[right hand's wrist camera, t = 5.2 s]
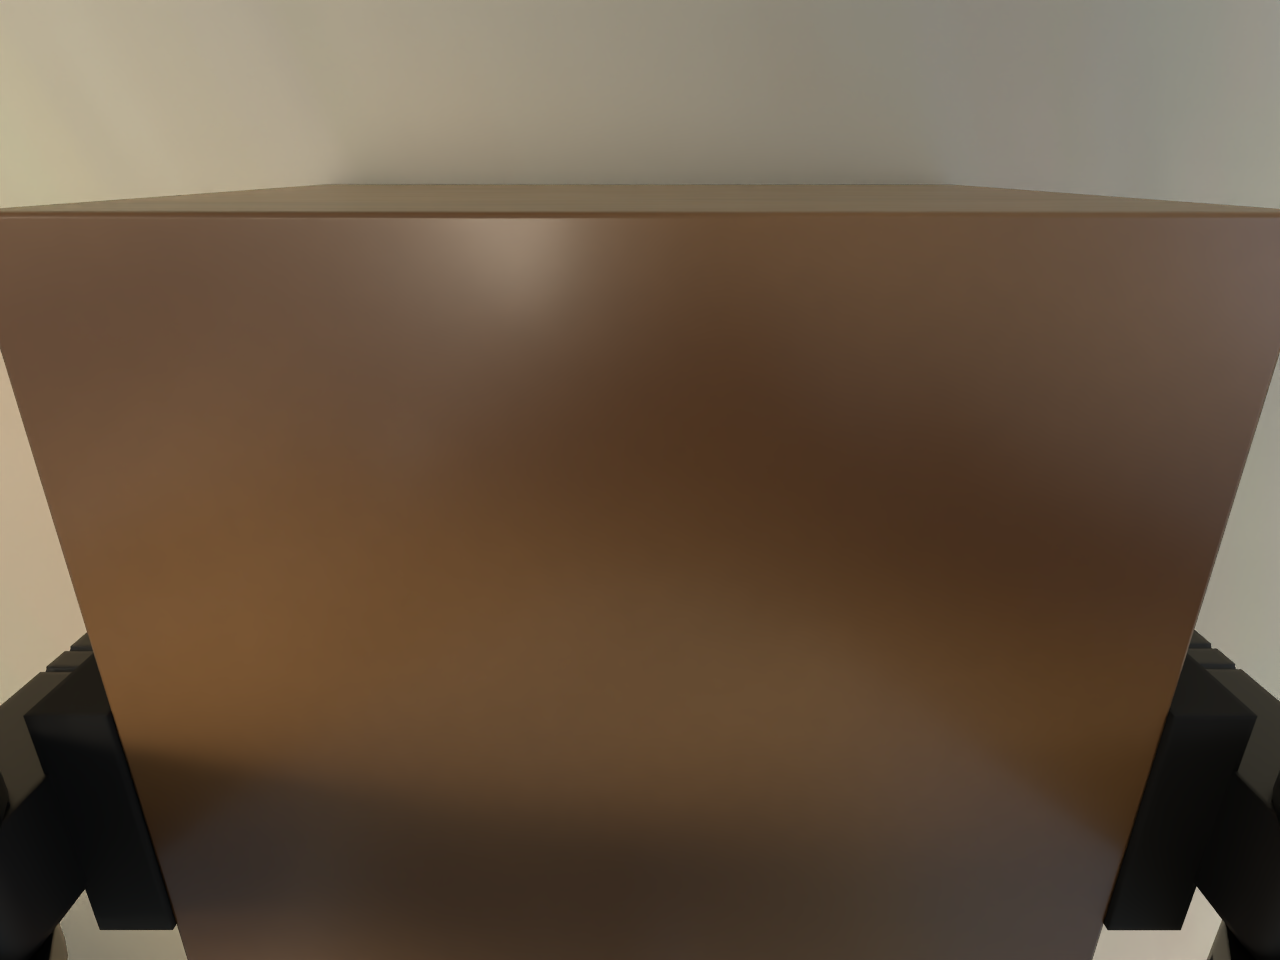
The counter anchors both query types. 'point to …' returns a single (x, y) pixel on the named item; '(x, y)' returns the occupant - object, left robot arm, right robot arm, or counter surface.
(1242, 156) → the counter surface
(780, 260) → the thick board
